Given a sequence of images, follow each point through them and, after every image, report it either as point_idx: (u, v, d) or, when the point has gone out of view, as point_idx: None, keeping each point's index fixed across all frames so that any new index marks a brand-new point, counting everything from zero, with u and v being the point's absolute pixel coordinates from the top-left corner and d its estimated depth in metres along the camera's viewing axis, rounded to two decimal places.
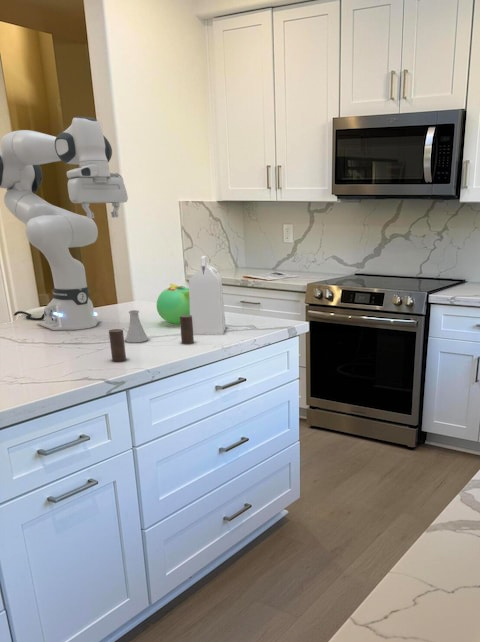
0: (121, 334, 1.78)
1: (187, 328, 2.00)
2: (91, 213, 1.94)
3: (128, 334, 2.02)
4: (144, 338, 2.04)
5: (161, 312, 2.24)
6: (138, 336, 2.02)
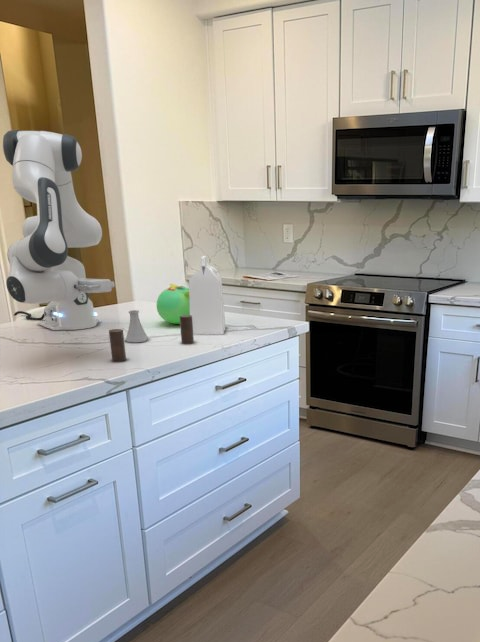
0: (121, 334, 1.78)
1: (187, 328, 2.00)
2: None
3: (128, 334, 2.02)
4: (144, 338, 2.04)
5: (161, 312, 2.24)
6: (138, 336, 2.02)
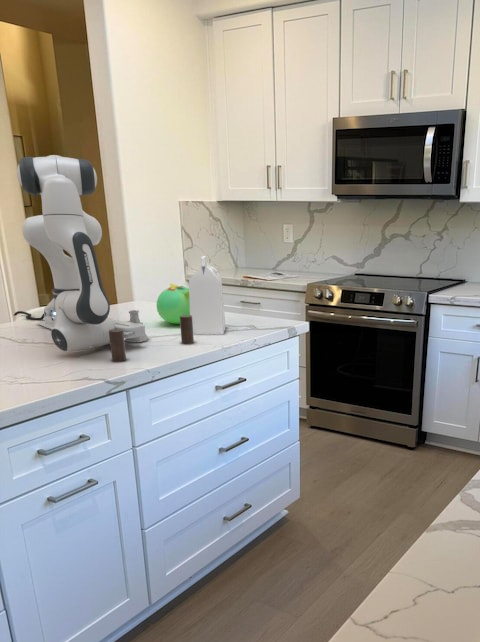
0: (121, 334, 1.78)
1: (187, 328, 2.00)
2: None
3: None
4: (144, 338, 2.04)
5: (161, 312, 2.24)
6: None
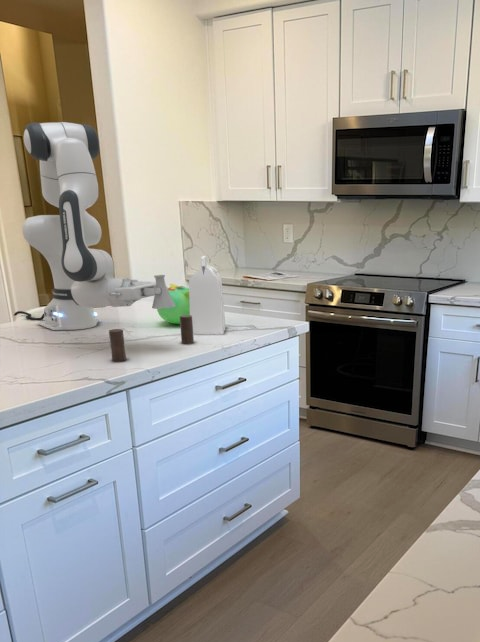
0: (121, 334, 1.78)
1: (187, 328, 2.00)
2: None
3: None
4: (161, 305, 1.87)
5: (161, 312, 2.24)
6: (155, 302, 1.87)
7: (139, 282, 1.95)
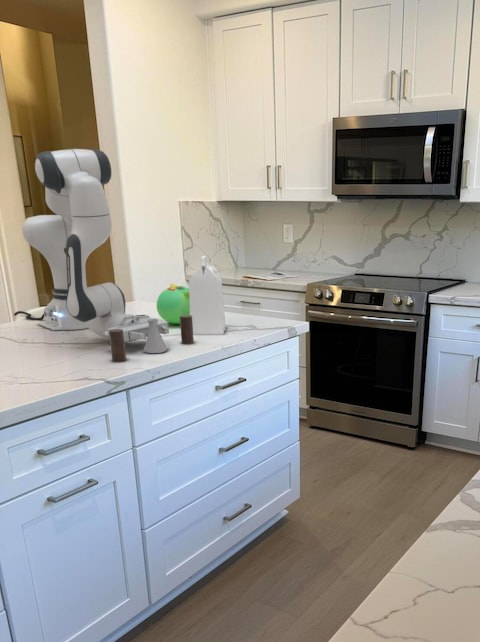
0: (121, 334, 1.78)
1: (187, 328, 2.00)
2: None
3: None
4: (148, 350, 1.89)
5: (161, 312, 2.24)
6: (145, 345, 1.90)
7: (147, 319, 2.00)
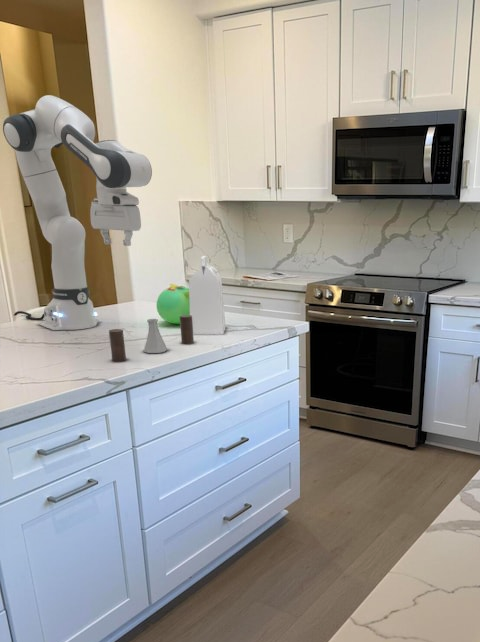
0: (121, 334, 1.78)
1: (187, 328, 2.00)
2: None
3: None
4: (148, 350, 1.89)
5: (161, 312, 2.24)
6: (145, 345, 1.90)
7: (120, 209, 1.84)
